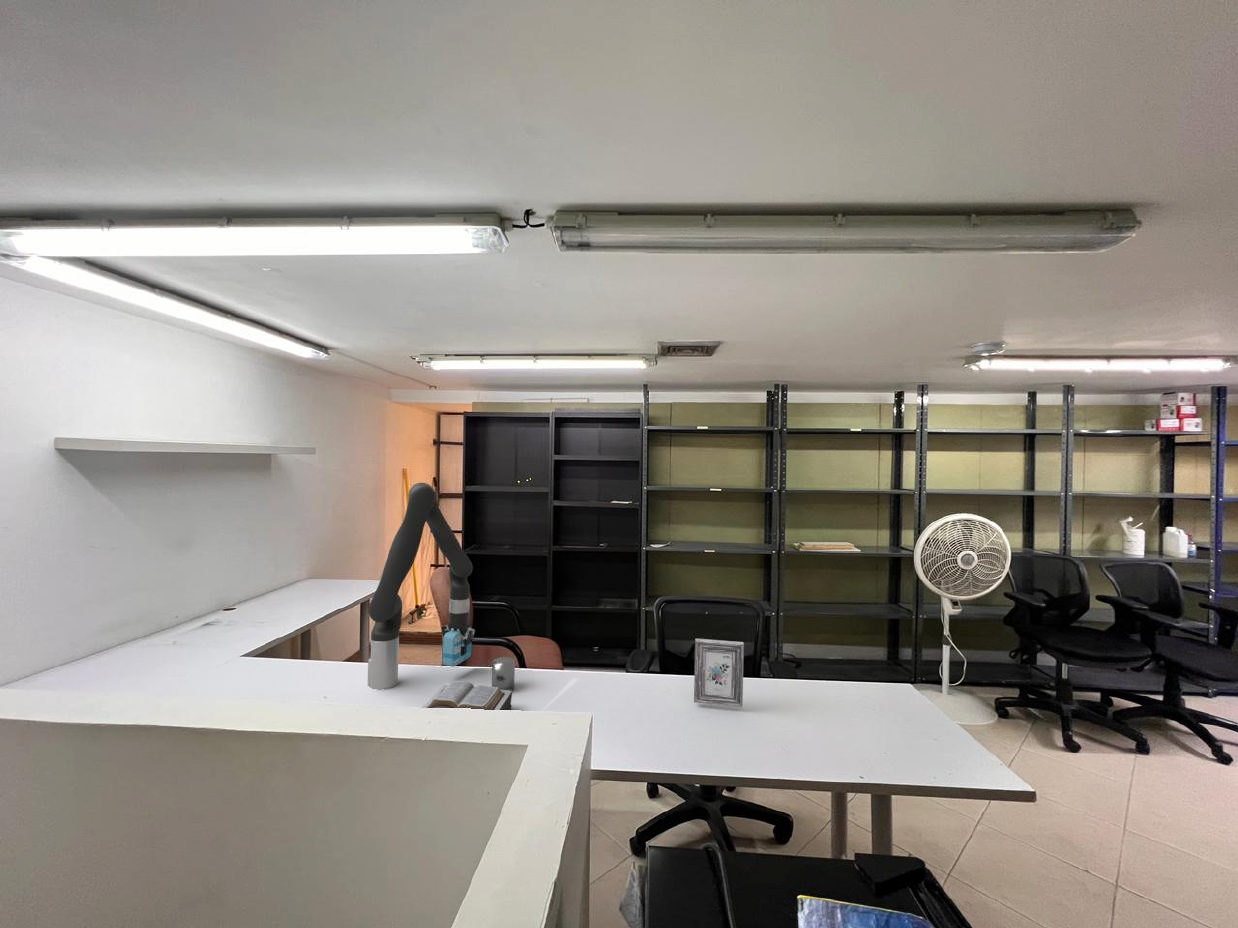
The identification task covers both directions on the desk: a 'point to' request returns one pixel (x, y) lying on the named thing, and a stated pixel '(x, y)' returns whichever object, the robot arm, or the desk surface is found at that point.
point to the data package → (454, 649)
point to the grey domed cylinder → (503, 673)
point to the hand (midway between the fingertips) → (457, 653)
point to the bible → (470, 697)
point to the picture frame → (718, 672)
